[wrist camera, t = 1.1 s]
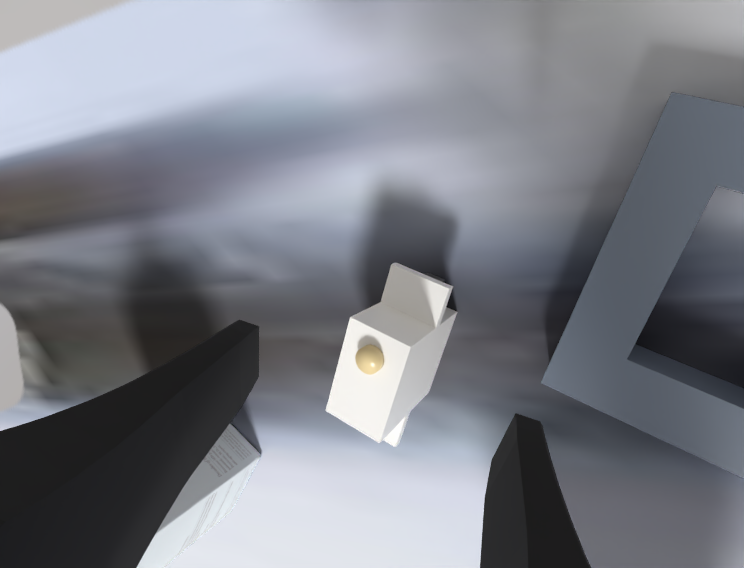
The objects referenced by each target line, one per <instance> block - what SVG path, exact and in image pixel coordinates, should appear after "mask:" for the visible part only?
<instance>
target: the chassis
mask: <svg viewBox="0 0 744 568" xmlns="http://www.w3.org/2000/svg"><path fill="white" fill-rule="evenodd" d="M716 186H717V187H721V188H725V189H728V190H732V191H736V192H739V193H743V194H744V107H742V106H737V105H733V104H728V103H723V102H718V101H713V100H708V99H703V98H699V97H694V96H689V95H684V94H679V93H674V92H672V93H671V95H670V97H669V99H668V102H667V104H666V106H665V108H664V111H663V113H662V115H661V117H660V119H659V122H658V124H657V126H656V128H655V130H654V133H653V135H652V137H651V139H650V142H649V144H648V146H647V148H646V150H645V153H644V155H643V157H642V159H641V162H640V164H639V166H638V168H637V170H636V173H635V175H634V177H633V179H632V181H631V184H630V186H629V188H628V190H627V193H626V195H625V197H624V199H623V201H622V204H621V206H620V208H619V210H618V213H617V215H616V217H615V219H614V221H613V224H612V226H611V228H610V230H609V233H608V235H607V237H606V239H605V241H604V244H603V246H602V248H601V250H600V252H599V255H598V257H597V259H596V261H595V264H594V266H593V268H592V270H591V272H590V275H589V277H588V279H587V281H586V284H585V286H584V288H583V290H582V292H581V295H580V297H579V299H578V301H577V304H576V306H575V308H574V310H573V312H572V315H571V317H570V319H569V321H568V323H567V326H566V328H565V330H564V332H563V335H562V337H561V339H560V341H559V343H558V346H557V348H556V350H555V352H554V355H553V357H552V359H551V361H550V363H549V366H548V368H547V370H546V372H545V375H544V377H543V379H542V381H541V383H542V384H544V385H546V386H548V387H550V388H552V389H554V390H556V391H559V392H561V393H563V394H565V395H567V396H569V397H571V398H573V399H576V400H578V401H580V402H582V403H584V404H586V405H588V406H590V407H593V408H595V409H597V410H599V411H601V412H603V413H605V414H607V415H609V416H612V417H614V418H616V419H618V420H620V421H622V422H624V423H626V424H629V425H631V426H633V427H635V428H637V429H639V430H641V431H643V432H645V433H648V434H650V435H652V436H654V437H656V438H658V439H660V440H662V441H665V442H667V443H669V444H671V445H673V446H675V447H677V448H679V449H682V450H684V451H686V452H688V453H690V454H692V455H694V456H696V457H698V458H701V459H703V460H705V461H707V462H709V463H711V464H713V465H715V466H718V467H720V468H722V469H724V470H726V471H728V472H730V473H732V474H735V475H737V476H739V477H741V478H743V479H744V388H742V387H739V386H737V385H735V384H732V383H730V382H727V381H725V380H722V379H720V378H717V377H715V376H712V375H710V374H707V373H705V372H703V371H700V370H698V369H695V368H693V367H690V366H688V365H685V364H683V363H680V362H678V361H676V360H673V359H671V358H668V357H666V356H663V355H661V354H658V353H656V352H653V351H651V350H649V349H646V348H644V347H641V346H639V345H636V344H635V343H636V341H637V339H638V337H639V335H640V333H641V331H642V329H643V327H644V325H645V324H646V322H647V320H648V318H649V316H650V314H651V312H652V310H653V308H654V306H655V304H656V302H657V300H658V298H659V296H660V295H661V293H662V291H663V289H664V287H665V285H666V283H667V281H668V279H669V277H670V275H671V273H672V271H673V269H674V267H675V266H676V264H677V262H678V260H679V258H680V256H681V254H682V252H683V250H684V248H685V246H686V244H687V242H688V240H689V238H690V236H691V235H692V233H693V231H694V229H695V227H696V225H697V223H698V221H699V219H700V217H701V215H702V213H703V211H704V209H705V207H706V206H707V204H708V202H709V200H710V198H711V196H712V194H713V192H714V190H715V188H716Z"/></svg>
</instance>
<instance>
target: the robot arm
mask: <svg viewBox="0 0 744 568" xmlns="http://www.w3.org/2000/svg"><path fill="white" fill-rule="evenodd" d="M258 377H259V326H256V325H254V324H251V323H248V322H245V321H242V320H238V321H236V322H234V323H233V324H231V325H229V326H228V327H226V328H224V329H223V330H221V331H219V332H218V333H216V334H215V335H213V336H211V337H210V338H208V339H206V340H205V341H203V342H202V343H200V344H198V345H197V346H195V347H193V348H192V349H190V350H188V351H186V352H185V353H183V354H181V355H179V356H178V357H176V358H174V359H173V360H171V361H169V362H167V363H166V364H164V365H162V366H160V367H158V368H156V369H154V370H152V371H150V372H149V373H147V374H145V375H143V376H141V377H139V378H137V379H135V380H133V381H131V382H129V383H127V384H125V385H123V386H121V387H119V388H116V389H114V390H112V391H110V392H108V393H105V394H103V395H101V396H99V397H96V398H94V399H91V400H89V401H86V402H84V403H81V404H79V405H76V406H73V407H71V408H68V409H65V410H63V411H60V412H57V413H55V414H52V415H49V416H47V417H44V418H41V419H38V420H35V421H32V422H29V423H25V424H22V425H19V426H16V427H13V428H9V429H6V430H3V431H0V568H137V566H138V564H139V562H140V561H141V559H142V557H143V555H144V553H145V552H146V550H147V548H148V546H149V545H150V543H151V541H152V539H153V538H154V536H155V534H156V532H157V531H158V529H159V527H160V525H161V524H162V522H163V520H164V519H165V517H166V515H167V514H168V512H169V510H170V509H171V507H172V505H173V504H174V502H175V500H176V499H177V497H178V495H179V494H180V492H181V490H182V489H183V487H184V486H185V484H186V483H187V481H188V480H189V478H190V477H191V475H192V474H193V472H194V471H195V470H196V468H197V467H198V466H199V464H200V463H201V462H202V460H203V459H204V458H205V456H206V455H207V454H208V452H209V451H210V450H211V448H212V447H213V445H214V444H215V443H216V441H217V440H218V439H219V437H220V436H221V435H222V433H223V432H224V431H225V429H226V428H227V427H228V425H229V424H230V422H231V421H232V420H233V418H234V417H235V416H236V414H237V413H238V411H239V410H240V409H241V407H242V405H243V404H244V402H245V400H246V399H247V397H248V395H249V393H250V392H251V390H252V388H253V386H254V384H255V382H256V381H257V379H258ZM480 568H591V567H590V564H589V562H588V560H587V558H586V555H585V553H584V550H583V548H582V546H581V543H580V541H579V538H578V536H577V533H576V531H575V528H574V526H573V523H572V520H571V518H570V515H569V512H568V509H567V506H566V504H565V501H564V498H563V495H562V492H561V489H560V486H559V483H558V480H557V477H556V474H555V470H554V467H553V464H552V460H551V457H550V453H549V450H548V446H547V442H546V438H545V434H544V430H543V426H542V424H541V422H540V421H537V420H534V419H531V418H528V417H525V416H522V415H519V414H515V416H514V418H513V420H512V422H511V424H510V425H509V427H508V429H507V431H506V433H505V435H504V437H503V439H502V441H501V443H500V445H499V447H498V449H497V451H496V453H495V455H494V457H493V458H492V462H491V467H490V472H489V477H488V483H487V489H486V494H485V503H484V517H483V532H482V547H481V563H480Z"/></svg>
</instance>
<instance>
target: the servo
mask: <svg viewBox="0 0 744 568" xmlns="http://www.w3.org/2000/svg"><path fill="white" fill-rule="evenodd" d="M444 282H445V279H442V278H440V277H438V276H435V275H433V274H430V273H428V272H427V273H425V274H422V273H420V272H418V271H415V270H413V269H410V268H408V267H406V266H403V265H401V264H399V263H393V264H391V267H390V271H389V274H388V278H387V281H386V285H385V288H384V292H383V295H382V299H381V302H380V303H378V304H376V305H374V306H372V307H370V308H368V309H366V310H364V311H362V312H360V313H358V314H356V315H354V316H352V317H350V320H349V324H348V328H347V332H346V335H345V339H344V343H343V347H342V351H341V354H340V358H339V362H338V366H337V369H336V373H335V377H334V381H333V385H332V388H331V392H330V396H329V400H328V403H327V407H326V411H327V412H329V413H330V414H332V415H334V416H335V417H337V418H339V419H340V420H342V421H344V422H345V423H347V424H349V425H350V426H352V427H354V428H355V429H357V430H358V431H360V432H362V433H363V434H365V435H367V436H368V437H370V438H372V439H373V440H375V441H377V442H378V443H380V442H381V441H382V440H384V441H386V442H387V443H389V444H391V445H392V446H394V447H396V446H397V445H398V444H399V443H400V440H401V437H402V434H403V431H404V428H405V425H406V422H407V420H408V417H409V414H410V411H411V410H412V409H413V408H414V407H415V406H416V405H417V404H418V403H419V402H420V401H421V400H422V399H423V398H424V397H425V396H426V395H427V394H428V393H429V390H430V388H431V385H432V382H433V379H434V376H435V373H436V371H437V368H438V365H439V362H440V359H441V356H442V354H443V351H444V348H445V345H446V342H447V339H448V337H449V334H450V331H451V328H452V325H453V322H454V320H455V317H456V314H457V312H456V311H454V310H452V309H450V308H447V307H446V306H447V303H448V300H449V297H450V294H451V291H452V288H453V286H451V285H448V284H446V283H444Z"/></svg>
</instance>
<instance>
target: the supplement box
mask: <svg viewBox="0 0 744 568" xmlns="http://www.w3.org/2000/svg"><path fill="white" fill-rule="evenodd" d="M260 457H261V455H260V453H259V452H258V451H257V450H256V449H255V448H254V447H253V446H252V445H251V444H250V443H249V442H248V441H247V440H246V439H245V438H244V437H243V436H242V435H241V434H240V433H239V432H238V431H237V430H236V428H235V427H233V426H232V425H231V424H229V425H228V427H227V428H226V429H225V431H224V432H223V433H222V435H221V436H220V437H219V439H218V440H217V441H216V443H215V444H214V445H213V447H212V448H211V450H210V451H209V452H208V454H207V455H206V456H205V458H204V459H203V460H202V462H201V463H200V464H199V466H198V467H197V468H196V470H195V471H194V472H193V474H192V475H191V477H190V478H189V480H188V481H187V483H186V484H185V486H184V487H183V489H182V490H181V492H180V494H179V495H178V497H177V499H176V500H175V502H174V504H173V505H172V507H171V509H170V510H169V512H168V514H167V515H166V517H165V519H164V520H163V522H162V524H161V525H160V527H159V529H158V531H157V532H156V534H155V536H154V538H153V539H152V541H151V543H150V545H149V546H148V548H147V550H146V552H145V553H144V555H143V557H142V559H141V561H140V562H139V564H138V566H137V568H164V567H165V566H167V565H168V564H169V563H170V562H171V561H173V560H174V559H175V558H176V557H177V556H179V555H180V554H181V553H182V552H183V551H185V550H186V549H187V548H188V547H189V546H191V545H192V544H193V543H194V542H195V541H197V540H198V539H199V538H200V537H201V536H203V535H204V534H205V533H206V532H208V531H209V530H210V529H211V528H213V527H214V526H215V525H216V524H217V523H219V522H220V521H221V520H222V519H224V518H225V517H226V516H227V515H228V514H230V513H231V511H232V510H233V508H234V506H235V504H236V503H237V501H238V499H239V497H240V495H241V493H242V491H243V489H244V487H245V486H246V484H247V482H248V480H249V478H250V476H251V474H252V472H253V470H254V469H255V467H256V465H257V463H258V461H259V459H260Z"/></svg>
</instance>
